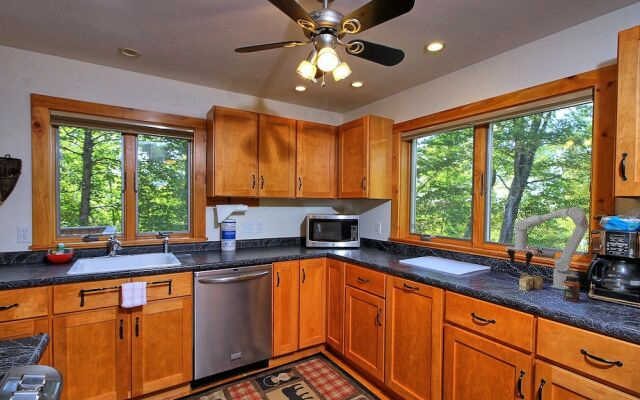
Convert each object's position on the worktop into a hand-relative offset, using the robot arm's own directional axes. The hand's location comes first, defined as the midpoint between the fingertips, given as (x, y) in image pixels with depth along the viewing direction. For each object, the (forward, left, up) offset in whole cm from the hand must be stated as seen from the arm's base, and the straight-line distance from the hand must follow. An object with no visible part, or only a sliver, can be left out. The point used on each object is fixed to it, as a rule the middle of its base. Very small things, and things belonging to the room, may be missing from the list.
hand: (519, 264), depth 177 cm
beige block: (-8, +12, -10) cm, 18 cm away
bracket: (-8, +7, -10) cm, 14 cm away
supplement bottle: (-28, +16, -10) cm, 34 cm away
